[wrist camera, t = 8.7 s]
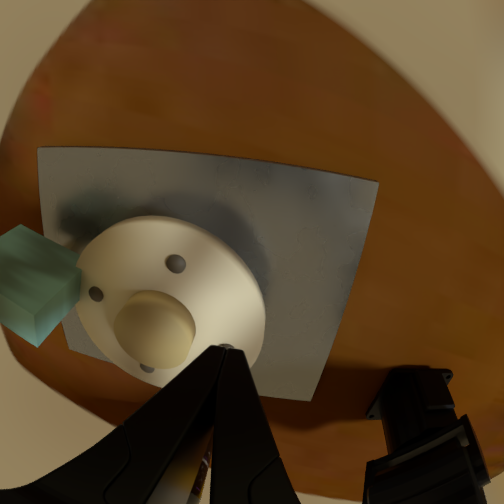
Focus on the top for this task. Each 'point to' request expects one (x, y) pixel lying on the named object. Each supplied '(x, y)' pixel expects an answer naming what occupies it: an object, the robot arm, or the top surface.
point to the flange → (135, 293)
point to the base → (227, 236)
